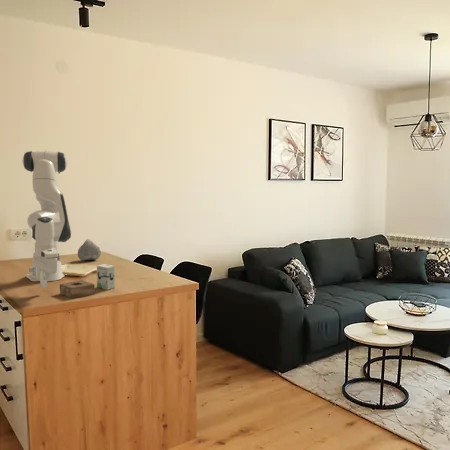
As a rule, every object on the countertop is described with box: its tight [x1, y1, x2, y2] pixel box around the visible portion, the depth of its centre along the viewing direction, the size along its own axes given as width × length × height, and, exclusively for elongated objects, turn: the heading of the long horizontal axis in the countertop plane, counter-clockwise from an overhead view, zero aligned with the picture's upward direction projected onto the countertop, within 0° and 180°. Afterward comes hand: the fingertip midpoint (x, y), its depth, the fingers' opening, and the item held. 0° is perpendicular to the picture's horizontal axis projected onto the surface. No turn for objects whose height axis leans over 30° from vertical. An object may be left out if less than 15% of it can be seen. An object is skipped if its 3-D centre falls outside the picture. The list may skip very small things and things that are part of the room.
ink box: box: [96, 263, 116, 291], centre depth 240 cm, size 9×5×12 cm, turn 56°
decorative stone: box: [77, 238, 102, 262], centre depth 312 cm, size 15×10×15 cm
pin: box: [39, 270, 48, 289], centre depth 225 cm, size 3×3×10 cm
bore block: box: [59, 279, 96, 299], centre depth 228 cm, size 12×12×5 cm
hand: (44, 278), depth 225 cm, fingers closed on pin, 3 cm apart
